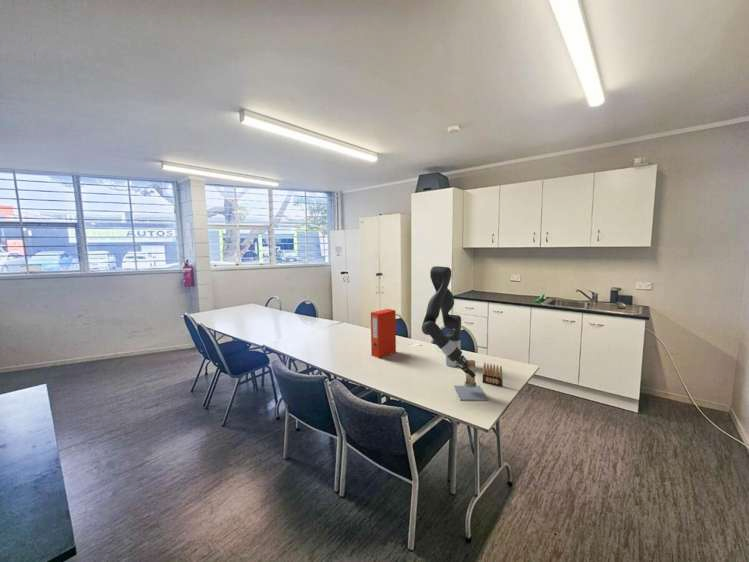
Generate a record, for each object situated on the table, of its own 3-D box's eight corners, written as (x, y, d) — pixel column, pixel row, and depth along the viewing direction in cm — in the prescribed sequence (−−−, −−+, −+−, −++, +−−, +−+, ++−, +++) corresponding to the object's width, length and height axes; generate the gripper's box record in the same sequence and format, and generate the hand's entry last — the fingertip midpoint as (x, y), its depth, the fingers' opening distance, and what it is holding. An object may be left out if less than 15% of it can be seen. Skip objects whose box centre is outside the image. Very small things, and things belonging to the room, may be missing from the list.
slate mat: (454, 386, 178) (454, 385, 178) (479, 386, 177) (479, 385, 177) (460, 400, 162) (460, 399, 162) (488, 400, 161) (488, 399, 161)
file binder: (396, 352, 236) (395, 310, 232) (379, 358, 224) (378, 314, 221) (388, 350, 242) (387, 308, 238) (371, 355, 230) (370, 312, 227)
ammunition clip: (482, 382, 182) (482, 362, 181) (483, 381, 183) (483, 361, 182) (501, 387, 176) (502, 366, 174) (502, 385, 177) (503, 365, 176)
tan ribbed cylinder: (463, 382, 172) (463, 359, 170) (474, 382, 171) (475, 359, 170) (466, 387, 166) (466, 363, 164) (477, 387, 165) (478, 363, 164)
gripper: (455, 350, 162) (479, 375, 160) (456, 342, 175) (479, 365, 173) (444, 359, 164) (468, 384, 162) (447, 350, 178) (469, 373, 175)
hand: (474, 374), depth 167 cm, fingers closed on tan ribbed cylinder, 4 cm apart
